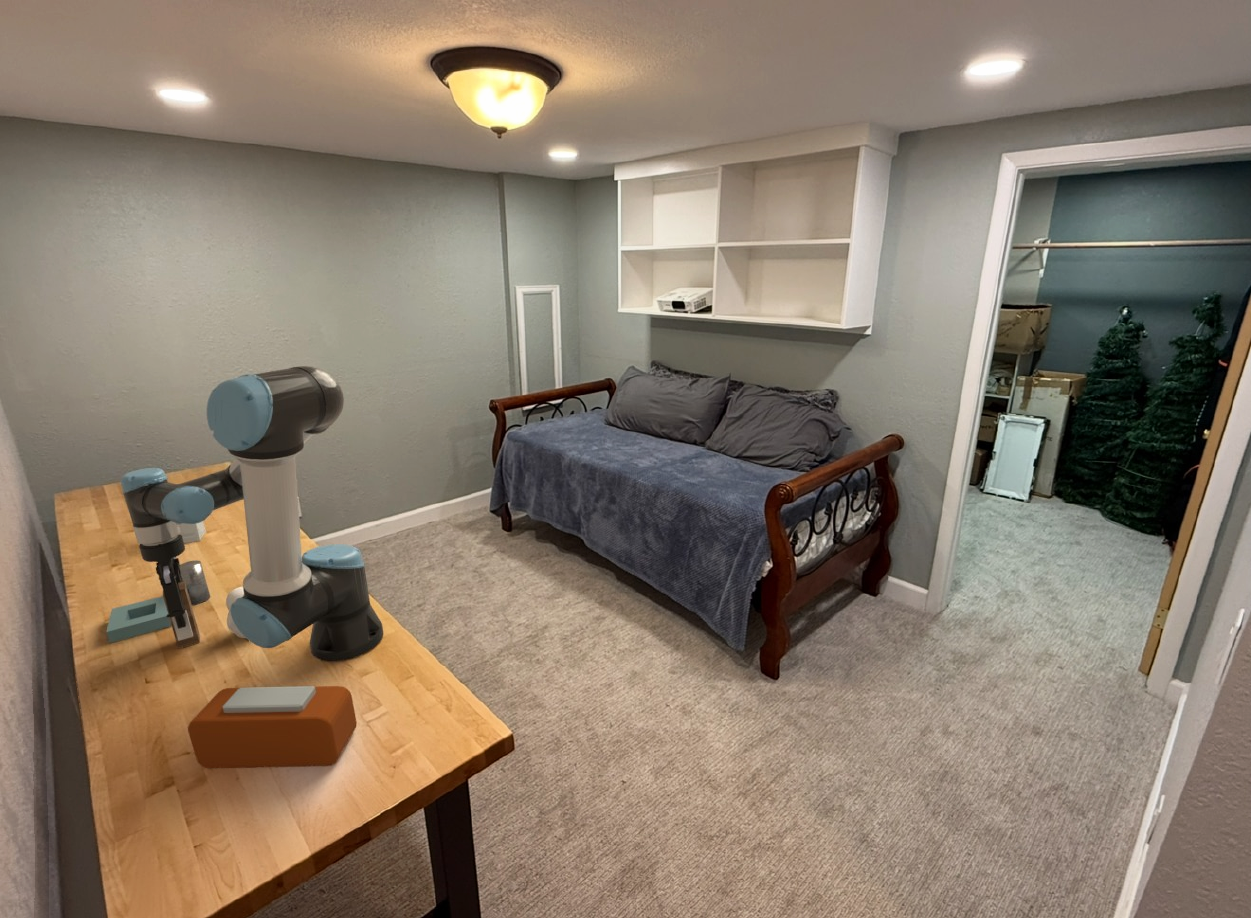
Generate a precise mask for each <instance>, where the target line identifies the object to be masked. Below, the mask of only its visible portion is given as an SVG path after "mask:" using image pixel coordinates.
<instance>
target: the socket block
mask: <svg viewBox="0 0 1251 918" xmlns="http://www.w3.org/2000/svg"><path fill="white" fill-rule="evenodd" d="M167 614H168V611H167V608H166V605H165V601H164V598H163V595H161V596H158V597H154V598H150V599H145V600H142V601H137V602H134V603H130V604H126V605H122V606H119V607H114V608H111V612H110V615H109V619H108V623H107V627H106V632H105V633H106V636H107V639H108V642H109V644H112V643H116V642H119V641H123V640H127V639H131V638H134V637H138V636H142V635H145V634H149V633H152V632H156V631H160V630H163V629H167V628H170V627H171V628H172V625H171V622H170V618H169V617H167Z"/></svg>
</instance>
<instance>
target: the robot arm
mask: <svg viewBox="0 0 1251 918" xmlns="http://www.w3.org/2000/svg"><path fill="white" fill-rule="evenodd" d="M344 402H345V398H344V393H343V390H342V388H341V386H340V384H339V382H338V381H337V380H336V379H335V378H334V377H333V376H332V375H331V374H329V373H327V372H326V371H325V370H322V369H320V368H318V367H317V368H316V367H313V366H307V365H306V366H305V365H304V366H303V365H302V366H301V365H300V366H293V367H290V368H283V369H278V370H272V371H271V370H270V371H266V372H260V373H255V374H243V375H240V376H238V377H234V378H231V379H226V380H223V381H222V382H220V383H219V384H217V385H216V387H215V388H214V389H212V391H211V393H210V394H209V397H208V401H207V404H206V420H207V424H208V427H209V430H210V431H213V434H212V436H213V438H214V440H216V441H217V443H218V444H219V445H220V446H221V447H223V448H225V449H227V451H228V454H229V455H230V456H232V457H233V458H235V459H234V460H233V461H232V462H231V463H230V464H229V465H228V466H227V467H226V468H225V469H222V470H220V471H216V472H213V473H209V474H207V475H204V476H200V477H197V478H194V479H191V480H188V481H184V482H182V483H181V482H180V483H173V482H169V481H168V477H167V475H166V473H165V471H164V470H163V469H162V468H158V467H146V468H141V469H137V470H136V469H135V470H133V471H129V472H127V473H125V474H123V475H122V476H121V477H120V484H121V489H122V493H121V494H122V495H123V497H124V501H125V504H126V507H127V510H128V513H129V517H130V520H131V523H132V529H133V532H134V535H135V539H136V541H137V543H138V544H139V545H138V548H139V551H140V555H141V558H142V559H143V561H144V562H147V563H148V562H149V563H155V564H156V567H155V572H156V575H158V580H159V583H160V586H161V587H162V593H163V592H164V595H165V599H166V603H167V607H168V610H169V614H167V617H172V621H173V624H174V628H175V631H176V634H177V638H178V641H180V640H183V639H187V638H190V637H193V633H192V629H191V626H190V622H189V618H188V615H187V611H186V610H185V609H184V604H183V600H182V596H181V591H180V587H179V583H181V582H183V579H182V576H181V569H180V565H181V564H180V560H179V558H178V556H180V555H182V554H183V553H184V552H185V550H186V546H185V543H184V542H183V538H182V535H180V528H179V524H181V523H185V524H196V523H200V522H202V521H203V522H204V521H205V520H207V518H208V517H209V516H210V515H211V514H212V513H213V512H214V511H216V510H219V509H221V508H224V507H226V506H229V505H232V504H234V503H237V502H241V501H243V505H244V514H245V515H244V516H245V524H246V533H247V542H248V544H247V545H248V552H249V564H250V571H249V572H248V573H247V574H246V575H245V576H244V578H243V581H242V587H243V590H244V596H243V597H241V598H237V599H236V601H234V603H232V605H231V609H230V611H231V616H232V619H233V621H234V623H235V625H236V626H237V628H238V629H239V631H240V632H241V633H242V634H243V635H244V636H245V637H246V638H245V639H247V640H248V641H249V642H251V643H252V644H253V645H254V646H257V647H259V648H262V649H273V648H276V647H277V646H279V645H281V644H284V643H285V642H287V641H290V640H291V639H292V638H293V637H295V636H296V635H298V634H299V633H301V632H303V631H304V630H305V629H307V628H308V627H310V626H311V625H312V628H311V633H310V637H309V638H310V639H309V647H310V652H311V655H312V657H314V659H317V660H320V661H323V662H328V663H329V662H331V663H332V662H333V663H334V662H343V661H348V660H351V659H355V658H357V657H359V656H362V655H364V654H367V653H369V652H370V651H372V650H373V649H374V648H375V647H377V646H378V645H379V643H381V641H382V639H383V638H384V637H383V636H384V627H383V623H382V621H381V619H380V618H379V616H378V614H377V613H376V611H375V609H374V607H372V605H371V601H370V595H369V593H370V592H369V588H368V581H367V576H366V570H365V569H366V568H365V566H366V565H365V563H364V559H363V555H362V552H361V551H360V549H359V548H357V547H355V546H353V545H349V544H327V545H321V546H317V547H313V548H311V549H309V550H306V551H305V552H304V553H303V554H302V542H301V541H302V540H301V525H300V510H299V495H298V479H297V478H298V477H297V466H296V465H297V464H296V463H297V462H296V457H297V456H298V455H300V454H301V453H302V452H303V451H304V449H305V445H304V444H306V442H308V440H309V439H311V438H312V437H313V436H314V435H319V434H322V433H324V432H326V430H328V429H329V427H331V426H332V425H333V424H334V423H335V422H336V421H337V420H338V419H339V417H340V415H341V413H342V411H343V409H344V404H345V403H344ZM188 594H189V589H188Z"/></svg>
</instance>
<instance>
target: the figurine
mask: <svg viewBox="0 0 1251 918" xmlns="http://www.w3.org/2000/svg"><path fill="white" fill-rule="evenodd" d="M243 596H244V590H243V586H238V587H236V588H233V589H232V590H231V591H230V592H229V593H228V594H227V596H226V599H225V606H226V608H227V610H228V613H227V618H226V625H227V629H229V631H231V632H232V633H234V635H236V636H237V637H238V638H240V639H247V638H246V637H245V636H244V635H243V634H242V633H241V632H240V631H239V629H238V628H237V626H236V625H235V623H234V621H233V619H232V616H231V611H230V609H231V605H232V603H234V601H236V599H237V598H241V597H243Z"/></svg>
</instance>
